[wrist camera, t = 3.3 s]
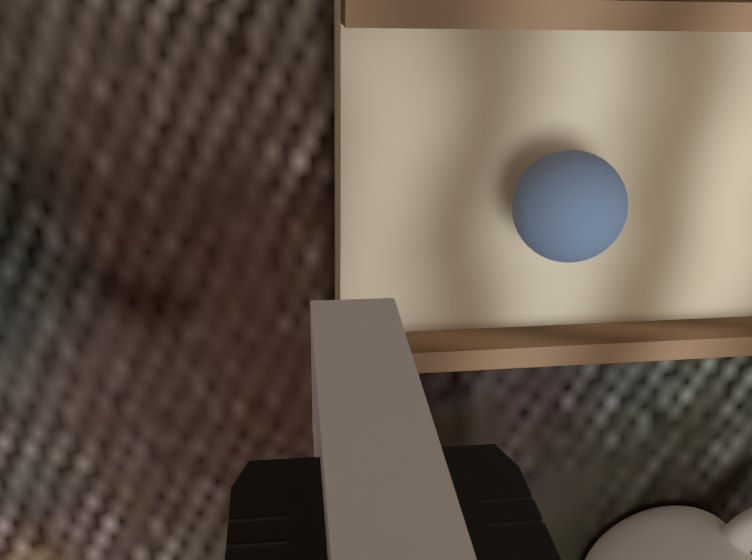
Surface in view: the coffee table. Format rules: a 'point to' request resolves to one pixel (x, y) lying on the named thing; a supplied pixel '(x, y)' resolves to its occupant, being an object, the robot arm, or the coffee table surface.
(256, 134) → the coffee table surface
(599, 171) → the ball
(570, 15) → the tray
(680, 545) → the mug
